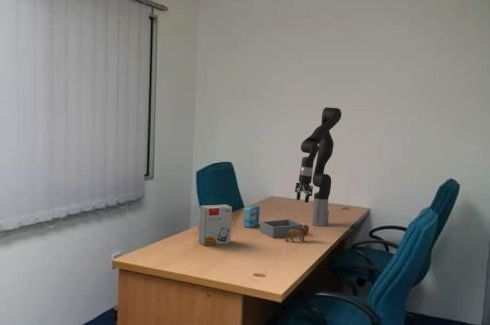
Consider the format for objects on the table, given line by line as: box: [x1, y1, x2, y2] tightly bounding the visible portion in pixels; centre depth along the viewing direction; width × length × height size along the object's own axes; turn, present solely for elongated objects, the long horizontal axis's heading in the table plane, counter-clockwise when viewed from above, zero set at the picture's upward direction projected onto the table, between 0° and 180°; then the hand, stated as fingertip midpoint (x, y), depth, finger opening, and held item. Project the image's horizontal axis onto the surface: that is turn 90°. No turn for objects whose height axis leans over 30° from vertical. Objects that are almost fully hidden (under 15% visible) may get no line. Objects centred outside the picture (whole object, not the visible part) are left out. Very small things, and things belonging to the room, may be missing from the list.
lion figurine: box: [285, 224, 310, 243], centre depth 257 cm, size 15×5×9 cm, turn 116°
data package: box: [242, 205, 261, 229], centre depth 286 cm, size 12×4×12 cm, turn 149°
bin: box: [259, 219, 304, 239], centre depth 272 cm, size 20×14×6 cm
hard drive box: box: [198, 204, 233, 246], centre depth 246 cm, size 16×8×20 cm, turn 117°
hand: (302, 201), depth 278 cm, fingers open, 8 cm apart
